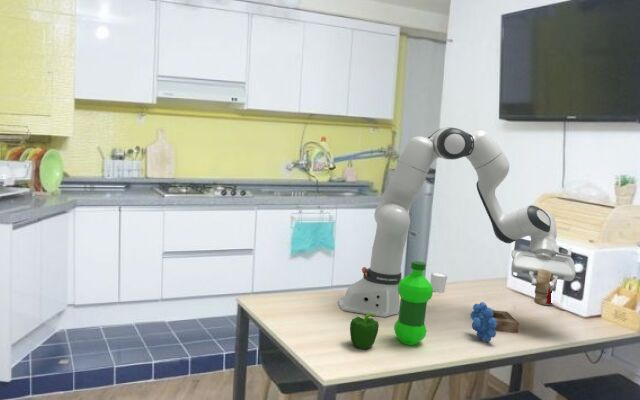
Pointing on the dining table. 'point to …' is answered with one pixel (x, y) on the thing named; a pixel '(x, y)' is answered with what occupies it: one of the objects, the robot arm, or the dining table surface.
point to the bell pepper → (363, 331)
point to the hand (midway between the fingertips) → (542, 286)
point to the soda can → (548, 296)
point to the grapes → (483, 321)
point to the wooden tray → (505, 322)
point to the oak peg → (542, 286)
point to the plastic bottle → (413, 305)
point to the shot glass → (438, 282)
